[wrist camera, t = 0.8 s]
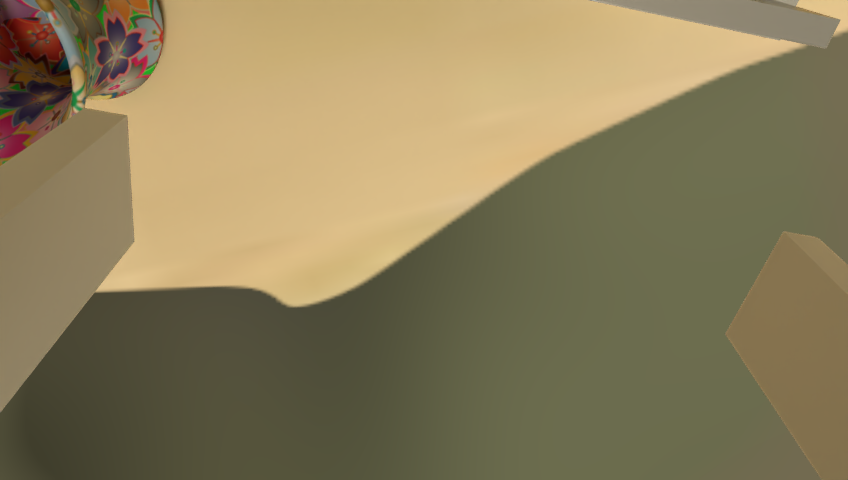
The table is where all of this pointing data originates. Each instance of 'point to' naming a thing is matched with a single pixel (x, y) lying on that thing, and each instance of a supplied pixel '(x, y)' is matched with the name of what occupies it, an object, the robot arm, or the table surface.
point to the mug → (69, 60)
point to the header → (745, 17)
